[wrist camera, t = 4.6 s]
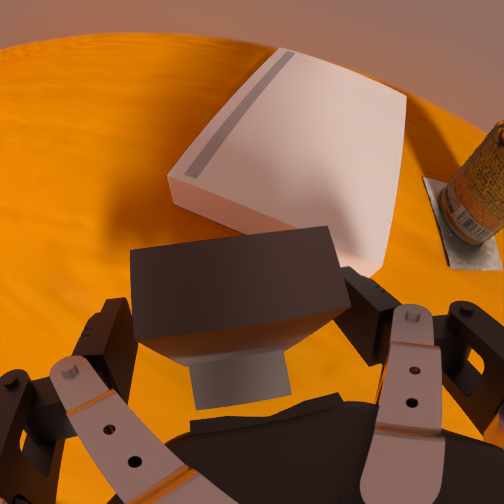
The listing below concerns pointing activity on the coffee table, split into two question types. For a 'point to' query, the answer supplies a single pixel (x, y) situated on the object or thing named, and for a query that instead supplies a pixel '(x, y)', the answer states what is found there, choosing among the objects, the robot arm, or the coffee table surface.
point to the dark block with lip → (236, 307)
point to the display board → (301, 157)
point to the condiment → (473, 206)
